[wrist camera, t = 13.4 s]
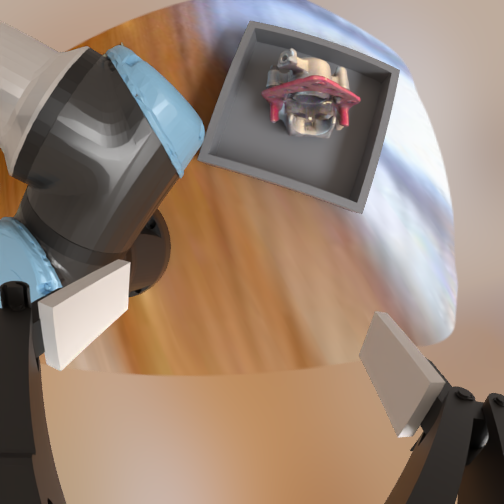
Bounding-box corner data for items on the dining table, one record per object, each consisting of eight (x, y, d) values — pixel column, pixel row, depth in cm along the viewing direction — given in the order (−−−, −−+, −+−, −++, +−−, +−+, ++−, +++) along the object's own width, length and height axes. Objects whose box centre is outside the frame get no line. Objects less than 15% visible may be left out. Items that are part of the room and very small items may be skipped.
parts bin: (206, 164, 37) (197, 160, 33) (252, 38, 33) (249, 20, 28) (351, 211, 37) (362, 213, 32) (386, 82, 33) (399, 70, 28)
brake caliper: (261, 154, 33) (258, 66, 23) (263, 102, 38) (260, 29, 27) (356, 158, 33) (379, 75, 22) (341, 106, 37) (353, 35, 27)
